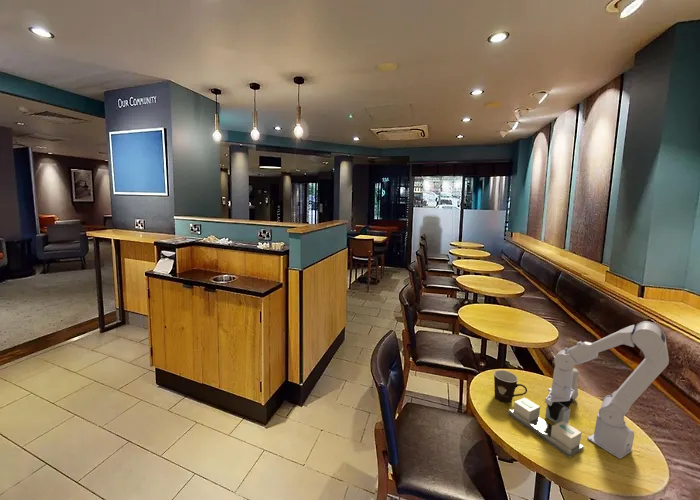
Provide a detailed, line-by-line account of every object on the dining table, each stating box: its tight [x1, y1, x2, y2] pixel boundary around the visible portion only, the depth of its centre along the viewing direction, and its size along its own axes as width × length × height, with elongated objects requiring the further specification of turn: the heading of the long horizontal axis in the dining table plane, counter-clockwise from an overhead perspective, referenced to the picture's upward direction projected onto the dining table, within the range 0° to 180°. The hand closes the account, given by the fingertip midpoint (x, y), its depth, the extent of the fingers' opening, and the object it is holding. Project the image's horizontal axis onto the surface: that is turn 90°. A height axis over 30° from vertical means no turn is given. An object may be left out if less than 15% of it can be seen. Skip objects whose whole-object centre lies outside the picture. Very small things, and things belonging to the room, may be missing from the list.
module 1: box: [512, 397, 541, 422], centre depth 118 cm, size 6×6×5 cm
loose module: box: [544, 403, 571, 424], centre depth 116 cm, size 6×4×6 cm, turn 27°
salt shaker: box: [571, 367, 580, 401], centre depth 129 cm, size 6×6×13 cm
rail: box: [507, 408, 585, 459], centre depth 112 cm, size 22×8×2 cm, turn 27°
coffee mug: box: [493, 369, 528, 404], centre depth 127 cm, size 12×9×10 cm
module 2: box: [551, 421, 583, 450], centre depth 105 cm, size 6×6×5 cm
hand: (557, 416), depth 117 cm, fingers closed on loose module, 4 cm apart
